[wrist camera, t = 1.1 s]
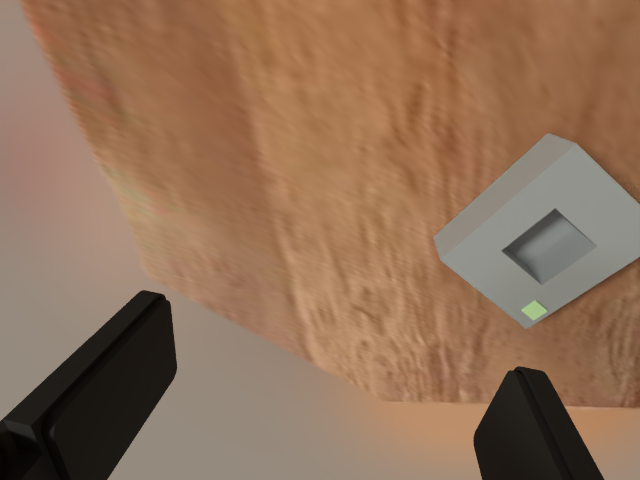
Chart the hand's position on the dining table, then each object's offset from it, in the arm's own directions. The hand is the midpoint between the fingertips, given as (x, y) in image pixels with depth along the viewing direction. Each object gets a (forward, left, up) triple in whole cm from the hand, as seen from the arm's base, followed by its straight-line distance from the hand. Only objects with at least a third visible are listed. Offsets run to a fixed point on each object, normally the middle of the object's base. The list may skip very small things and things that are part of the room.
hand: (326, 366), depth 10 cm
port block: (-5, +18, -28) cm, 33 cm away
